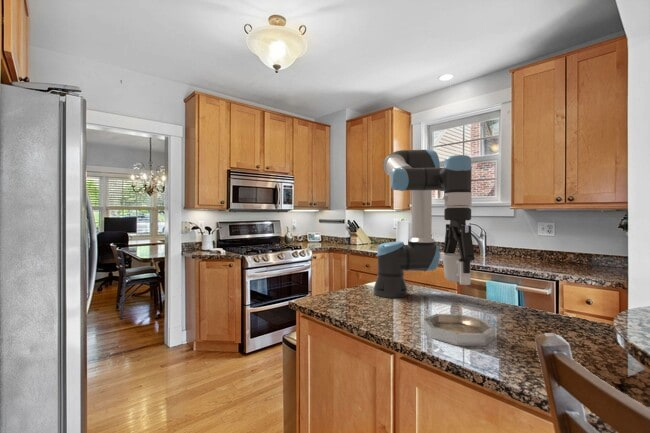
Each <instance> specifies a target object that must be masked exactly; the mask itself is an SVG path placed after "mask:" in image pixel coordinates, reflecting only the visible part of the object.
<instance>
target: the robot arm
mask: <svg viewBox="0 0 650 433" xmlns="http://www.w3.org/2000/svg"><path fill="white" fill-rule="evenodd" d="M382 169H383V171H384V173H385V174H386V175H388V176H389V177H390V181H389V182H390V188H391V189H392V190H393V191H400V192H403V191H411V237H410V238H409V239H408V242H407V244H405V243H404V241H401V240H399V241H389V242H384V243H383V242H382V243H381V244H379V245H378V246H377V254H376V256H377V277H376V280H375V283H374V285H373V294H374V295H375V296H377V297H381V298H391V299H392V298H393V299H396V298H397V299H398V298H404V297H407V296H408V295H409V293H408V292H409V290H408V286H407V283H406V281H405V275H404V274H405V272H411V271H412V272H419V271H420V272H431V271H432V272H433V271H434V270H437V268H438V266H439V263H440V257H441V255H440V254H441V252H440V249H441V248H440V247H439V245H438V244H436V240H434V238H433V237H432V234H433V233H432V230H433V228H432V221H433V220H432V212H433V210H432V206H433V205H432V204H433V202H432V201H433V200H432V198H433V197H432V194H433V192H432V191H439V192H444V196H443V197H442V199H443V200H444V206H445V208H444V213H443V214H444V216H443V217H444V218H443V219H444V220H445V221H449V223H446V224H445V237H444V245H443V254H448V253H456V250H457V246H458V251H459V252H458V253H459V254H460V256H461V259H460V260H459V262H460V282H459V285H462V286H463V285H464V286H465V285H466V286H467V285H468V286H469V285H471V284H472V282H471V269H472V268H471V262H472V261H474V260H475V252H474V250H475V249H474V245H473V243H474V242H473V237H472V226H471V224H469V225H467V223H466V222H467V221H471V220H472V208H470V207H471V206H472V203H473V202H472V200H473V199H472V195H473V194H472V169H473V167H472V159H471V157H470V156H469V155H466V154H457V155H456V154H455V155H448V156H447V157H445V159H444V164H443V167H441V163H440V158H439V155H438V153H437V152H436V151H435V150H433V149H408V150H407V149H401V150H396V151H393V152H391V153H389V154H388V155H386V156H385V158H384V159H383V162H382Z"/></svg>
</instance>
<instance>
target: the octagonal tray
mask: <svg viewBox="0 0 650 433" xmlns="http://www.w3.org/2000/svg"><path fill="white" fill-rule="evenodd" d="M423 329H424V331H426V333H427V334H428V335H429V337H430V338H431V339H434V340H436V341H440V342H444V343H448V344H451V345H454V346H459V347H463V346H464V347H465V346H467V347H486V346H487V345H489V344H490V343H491V342H493V341H495V339H496V327H494V326H493V325H492V324H490V323H488V322H487V321H486V320H485V319H482V318H479V317H472V316H469V315H465V314H460V313H435V314H432V315H431V316H428V317H426V318H424V319H423Z"/></svg>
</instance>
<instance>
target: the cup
mask: <svg viewBox="0 0 650 433" xmlns="http://www.w3.org/2000/svg"><path fill="white" fill-rule="evenodd" d="M460 259H461V256H460V253H456V252H455V253H448V254H445V253H442V262H443V272H444V278H445V279H446V281H448V282H453V283H460V262H459V260H460Z"/></svg>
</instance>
